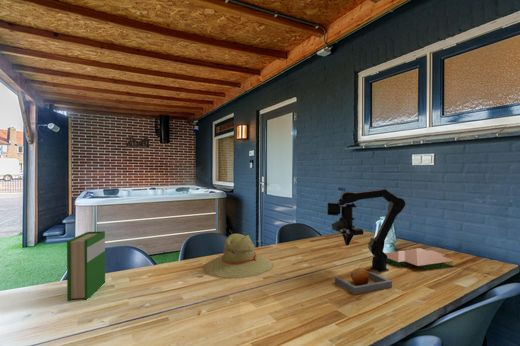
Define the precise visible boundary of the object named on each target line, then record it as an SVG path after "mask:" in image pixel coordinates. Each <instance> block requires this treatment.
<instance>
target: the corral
mask: <svg viewBox="0 0 520 346" xmlns="http://www.w3.org/2000/svg"><path fill="white" fill-rule="evenodd" d="M368 273H369V276H370V278H369V279H371V280H373V281H375V282H372V283H368V284H366V285H354V284H352V283H350V282H348V281H346V280H344V279H342V278H341V277H338V276H334V283H335V284H336V285H338V286H340V287H342V288H343V289H345V290H346V291H348V292H350V293H352V294H354V295H358V294H363V293H368V292H373V291H374V292H375V291H379V290H383V289H387V288H388V289H389V288H392V287H393V281H392V280H390V279H387V278H385V277H383V276H381V275H379V274H377V273H374V272H372V271H368Z"/></svg>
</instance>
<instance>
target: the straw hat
mask: <svg viewBox="0 0 520 346" xmlns="http://www.w3.org/2000/svg"><path fill="white" fill-rule="evenodd" d="M255 248H256V247H255V244H254V242H253V241H252V239H251V237H250V235H249V234H247V235H244V234H241V233H231V234H230V235H228V236H227V237H226V239H225V241H224V245H223V255H220V256H217V257H216V258H213V259H211V260H209V261H207V262H205V264H204V265H203V267H202V270H203V272H204V274H205V275H207V276H211V277H213V278H217V279H223V280H231V279H232V280H236V279H237V280H238V279H239V280H241V279H247V278H248V279H249V278H252V277H257V276H262V275H264V274H267V273H268V272H271V270H273V269H274V267H275V264H274V262H273V261H272V260H270V259H269V258H266V257H263V256H261V255H257V254H256V249H255Z"/></svg>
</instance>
